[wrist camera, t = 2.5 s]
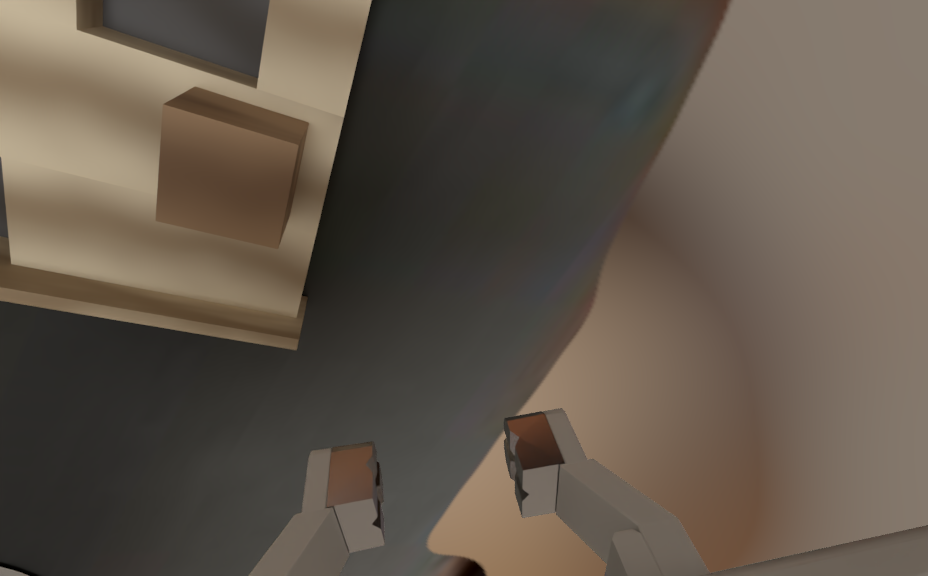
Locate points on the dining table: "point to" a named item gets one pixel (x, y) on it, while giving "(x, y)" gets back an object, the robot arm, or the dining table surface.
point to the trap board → (138, 149)
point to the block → (228, 167)
